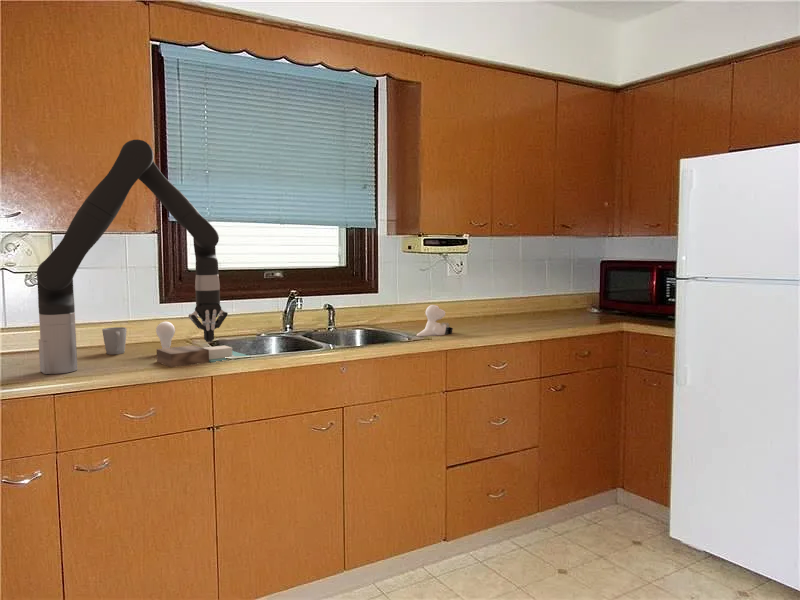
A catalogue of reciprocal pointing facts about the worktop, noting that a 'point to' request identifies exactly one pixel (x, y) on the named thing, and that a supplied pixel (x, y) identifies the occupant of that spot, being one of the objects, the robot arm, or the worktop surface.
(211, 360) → the mat
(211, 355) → the pale pink rectangular block
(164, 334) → the lightbulb
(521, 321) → the worktop surface
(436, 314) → the figurine
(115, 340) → the cup
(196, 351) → the brown wooden block
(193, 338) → the worktop surface
